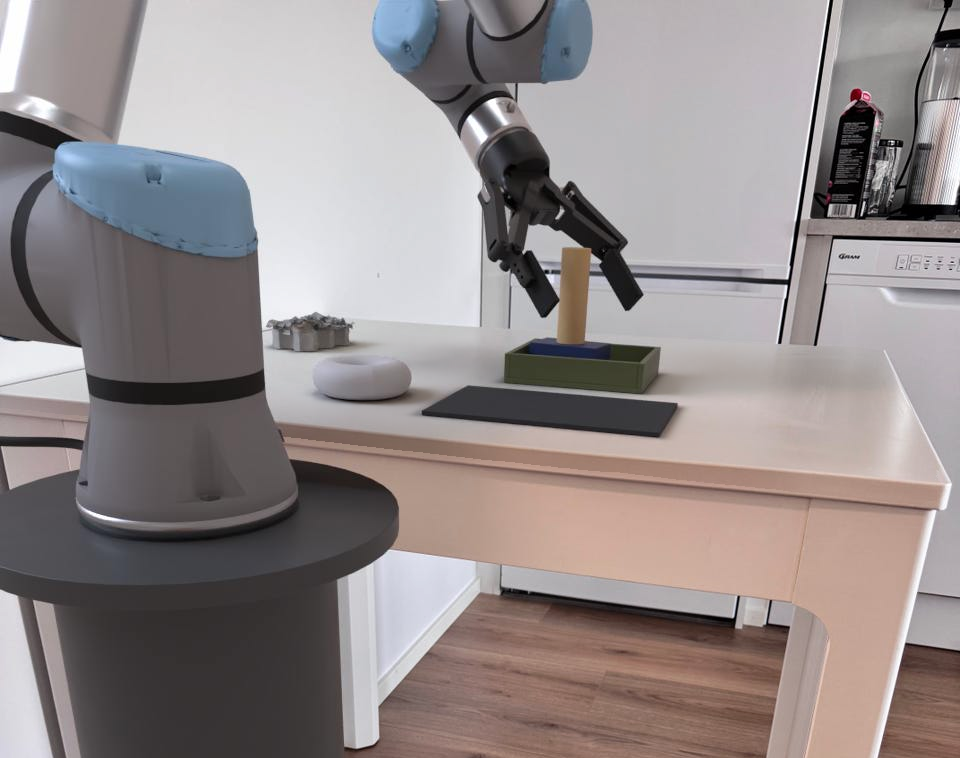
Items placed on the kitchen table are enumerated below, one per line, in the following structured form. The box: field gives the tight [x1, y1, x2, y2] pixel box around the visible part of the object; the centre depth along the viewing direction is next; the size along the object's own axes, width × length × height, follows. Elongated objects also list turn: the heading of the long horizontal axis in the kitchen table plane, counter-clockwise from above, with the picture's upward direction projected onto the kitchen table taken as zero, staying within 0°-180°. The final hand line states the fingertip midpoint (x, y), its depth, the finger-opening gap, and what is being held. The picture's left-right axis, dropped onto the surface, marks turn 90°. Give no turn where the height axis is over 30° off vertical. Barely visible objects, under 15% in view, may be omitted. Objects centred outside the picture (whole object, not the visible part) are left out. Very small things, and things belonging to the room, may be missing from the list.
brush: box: [529, 246, 612, 360], centre depth 107 cm, size 8×5×13 cm, turn 63°
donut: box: [311, 354, 413, 401], centre depth 96 cm, size 10×4×10 cm
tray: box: [503, 337, 662, 395], centre depth 107 cm, size 15×13×3 cm
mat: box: [421, 385, 679, 438], centre depth 91 cm, size 22×14×1 cm, turn 73°
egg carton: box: [265, 311, 356, 352], centre depth 124 cm, size 11×8×4 cm
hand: (594, 306), depth 104 cm, fingers open, 13 cm apart
